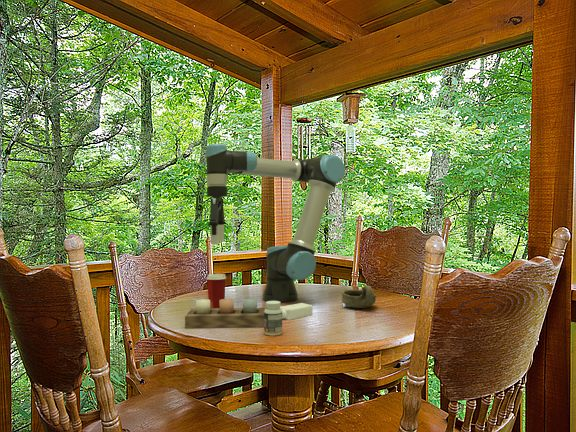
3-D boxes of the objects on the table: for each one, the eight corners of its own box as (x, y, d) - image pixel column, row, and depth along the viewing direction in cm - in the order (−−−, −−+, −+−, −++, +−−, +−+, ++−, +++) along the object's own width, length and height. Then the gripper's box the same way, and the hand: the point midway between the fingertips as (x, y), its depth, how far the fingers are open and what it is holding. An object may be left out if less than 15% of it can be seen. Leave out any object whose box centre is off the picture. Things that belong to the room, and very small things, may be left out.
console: (265, 318, 163) (264, 307, 163) (264, 327, 151) (264, 315, 151) (191, 319, 162) (191, 308, 162) (185, 328, 150) (185, 316, 150)
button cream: (211, 311, 159) (211, 299, 159) (209, 314, 154) (209, 301, 154) (197, 311, 159) (197, 299, 159) (194, 314, 154) (194, 301, 154)
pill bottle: (263, 331, 146) (263, 300, 146) (281, 331, 146) (281, 300, 146) (264, 336, 140) (264, 304, 140) (283, 335, 141) (282, 303, 141)
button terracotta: (234, 311, 159) (234, 298, 159) (233, 314, 154) (232, 301, 154) (220, 311, 159) (220, 298, 159) (218, 314, 154) (218, 301, 154)
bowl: (367, 303, 189) (366, 279, 189) (386, 312, 172) (386, 285, 172) (335, 305, 186) (335, 280, 186) (352, 314, 169) (352, 287, 169)
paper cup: (230, 309, 179) (229, 273, 179) (220, 313, 172) (220, 276, 171) (212, 308, 181) (212, 273, 181) (202, 312, 174) (202, 275, 174)
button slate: (257, 311, 159) (257, 298, 159) (256, 314, 155) (256, 301, 155) (243, 311, 159) (243, 298, 159) (242, 314, 154) (242, 301, 154)
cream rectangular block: (274, 318, 164) (274, 307, 164) (300, 313, 173) (300, 301, 173) (287, 322, 159) (287, 309, 159) (312, 316, 168) (312, 304, 168)
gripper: (212, 187, 183) (213, 240, 183) (200, 184, 158) (201, 245, 159) (231, 187, 183) (232, 240, 183) (221, 183, 158) (222, 245, 158)
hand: (217, 242), depth 171 cm, fingers open, 13 cm apart
